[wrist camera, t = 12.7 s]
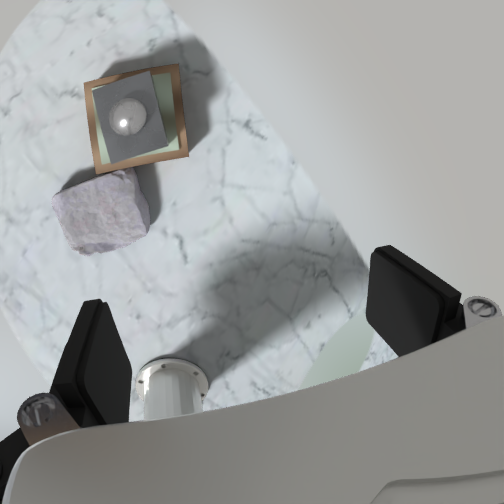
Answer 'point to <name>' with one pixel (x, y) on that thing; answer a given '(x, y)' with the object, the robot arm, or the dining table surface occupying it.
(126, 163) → the stand
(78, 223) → the stone block
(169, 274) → the dining table surface
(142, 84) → the housing
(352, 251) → the dining table surface
